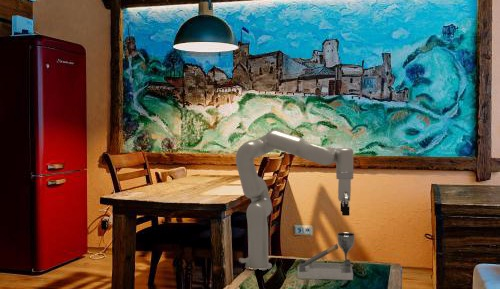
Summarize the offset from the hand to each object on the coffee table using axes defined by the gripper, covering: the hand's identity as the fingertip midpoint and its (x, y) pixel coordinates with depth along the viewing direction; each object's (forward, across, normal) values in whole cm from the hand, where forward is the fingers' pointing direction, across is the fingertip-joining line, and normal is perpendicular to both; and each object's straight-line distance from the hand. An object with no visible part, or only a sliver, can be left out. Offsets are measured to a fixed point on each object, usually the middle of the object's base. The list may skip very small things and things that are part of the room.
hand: (344, 213), depth 247 cm
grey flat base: (+27, +5, -9) cm, 29 cm away
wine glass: (+27, -13, +1) cm, 30 cm away
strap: (+19, +5, -11) cm, 22 cm away
